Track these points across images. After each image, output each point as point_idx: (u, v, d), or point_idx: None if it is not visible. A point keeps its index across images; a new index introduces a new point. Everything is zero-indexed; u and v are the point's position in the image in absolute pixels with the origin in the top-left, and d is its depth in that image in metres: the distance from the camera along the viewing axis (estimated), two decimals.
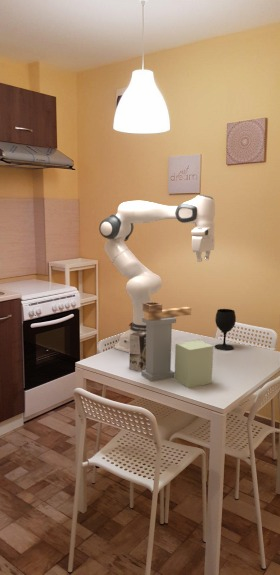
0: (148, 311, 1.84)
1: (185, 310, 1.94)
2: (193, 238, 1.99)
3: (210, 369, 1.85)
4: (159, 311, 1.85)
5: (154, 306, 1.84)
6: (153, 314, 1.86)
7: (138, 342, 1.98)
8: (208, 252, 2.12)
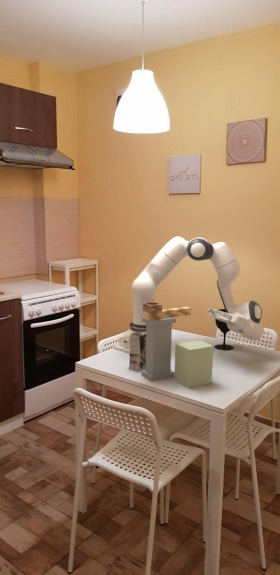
0: (148, 311, 1.84)
1: (185, 310, 1.94)
2: (246, 320, 2.00)
3: (210, 369, 1.85)
4: (159, 311, 1.85)
5: (154, 306, 1.84)
6: (153, 314, 1.86)
7: (138, 342, 1.98)
8: (213, 313, 2.10)
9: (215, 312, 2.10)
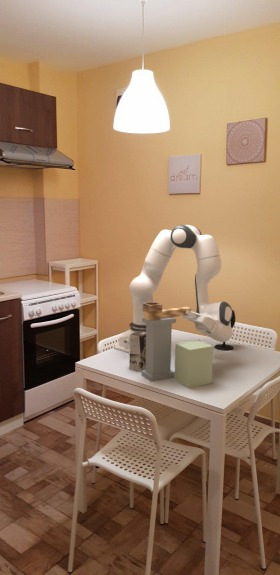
0: (148, 311, 1.84)
1: None
2: (214, 321, 1.92)
3: (210, 369, 1.85)
4: (159, 311, 1.85)
5: (154, 306, 1.84)
6: (153, 314, 1.86)
7: (138, 342, 1.98)
8: None
9: None
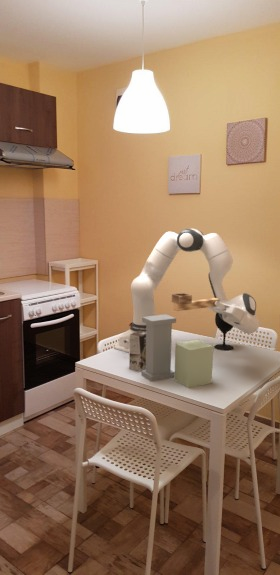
0: (178, 302, 1.82)
1: None
2: (243, 312, 1.91)
3: (210, 369, 1.85)
4: (189, 302, 1.84)
5: (184, 297, 1.82)
6: (183, 305, 1.84)
7: (138, 342, 1.98)
8: None
9: None
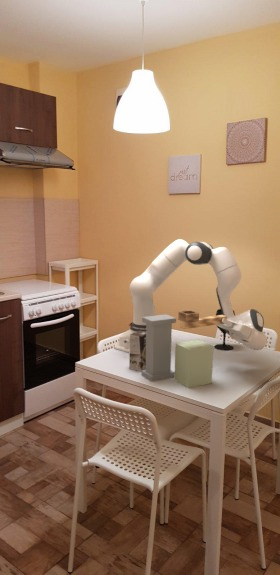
0: (185, 320, 1.79)
1: None
2: (251, 330, 1.87)
3: (210, 369, 1.85)
4: (196, 320, 1.80)
5: (191, 315, 1.78)
6: (189, 323, 1.81)
7: (138, 342, 1.98)
8: None
9: None
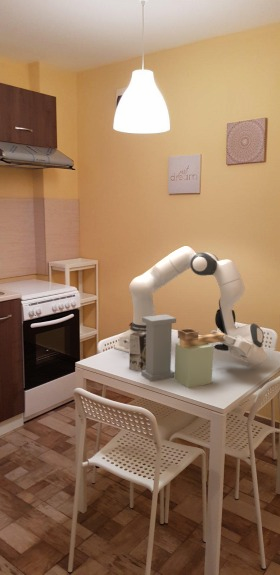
0: (184, 339, 1.80)
1: (220, 336, 1.90)
2: (250, 346, 1.89)
3: (210, 369, 1.85)
4: (195, 339, 1.81)
5: (190, 334, 1.80)
6: (189, 342, 1.82)
7: (138, 342, 1.98)
8: None
9: None
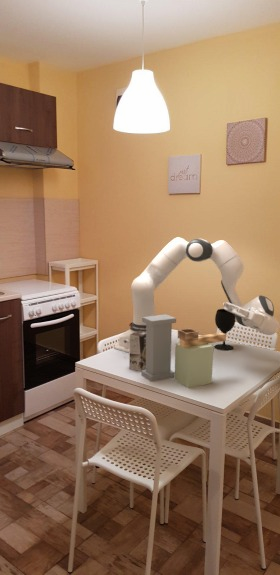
0: (184, 339, 1.80)
1: (220, 336, 1.90)
2: (263, 317, 1.90)
3: (210, 369, 1.85)
4: (195, 339, 1.81)
5: (190, 334, 1.80)
6: (189, 342, 1.82)
7: (138, 342, 1.98)
8: (228, 307, 1.99)
9: (230, 306, 1.99)
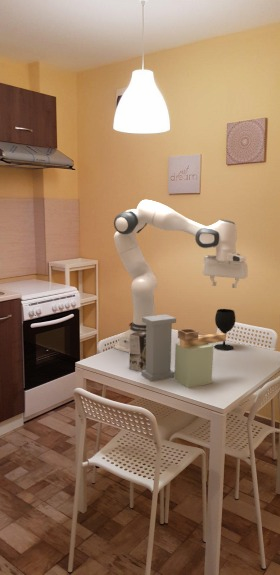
0: (184, 339, 1.80)
1: (220, 336, 1.90)
2: (244, 265, 1.95)
3: (210, 369, 1.85)
4: (195, 339, 1.81)
5: (190, 334, 1.80)
6: (189, 342, 1.82)
7: (138, 342, 1.98)
8: (213, 277, 2.05)
9: (213, 276, 2.04)
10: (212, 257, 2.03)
